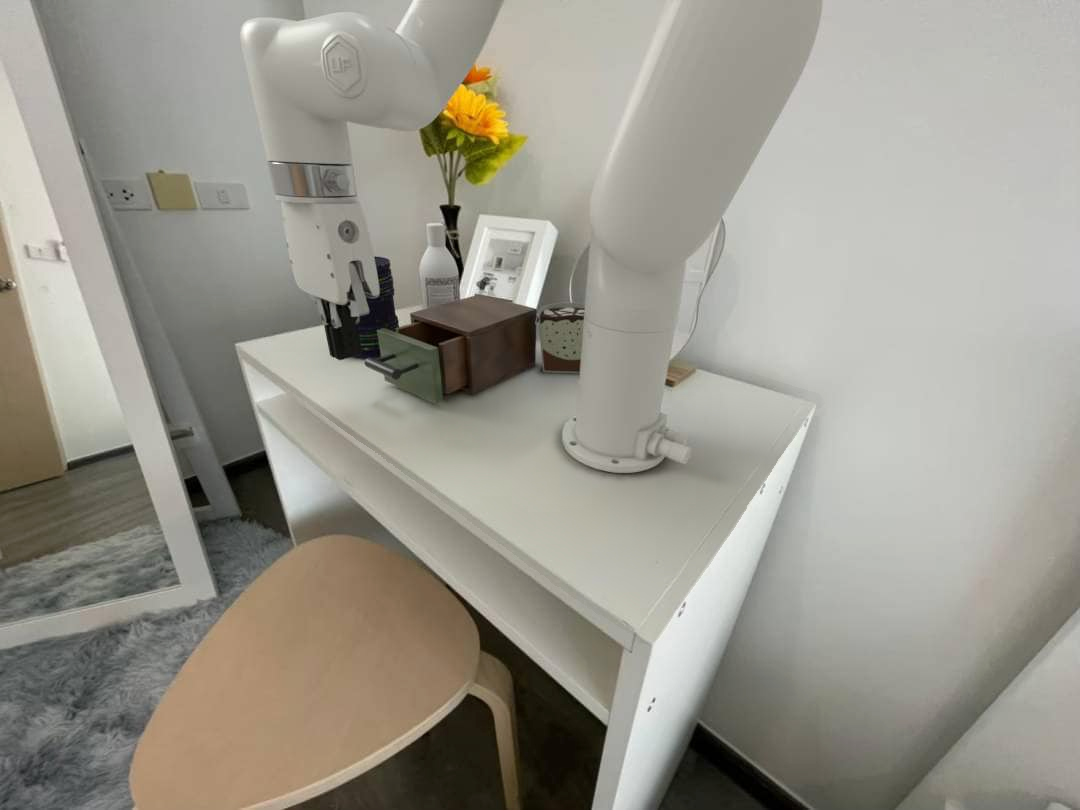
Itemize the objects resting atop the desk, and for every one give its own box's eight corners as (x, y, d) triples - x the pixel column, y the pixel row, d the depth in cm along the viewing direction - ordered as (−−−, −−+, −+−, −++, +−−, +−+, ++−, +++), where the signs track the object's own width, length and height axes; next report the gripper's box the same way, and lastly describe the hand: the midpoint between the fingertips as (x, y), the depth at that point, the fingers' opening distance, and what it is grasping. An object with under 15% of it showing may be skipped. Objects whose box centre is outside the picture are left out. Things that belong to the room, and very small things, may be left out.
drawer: (410, 416, 55) (402, 360, 52) (359, 390, 61) (348, 337, 58) (503, 372, 68) (503, 324, 64) (453, 354, 74) (449, 309, 70)
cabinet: (473, 395, 63) (469, 332, 58) (416, 371, 69) (409, 312, 65) (535, 364, 73) (536, 308, 68) (481, 346, 80) (479, 294, 75)
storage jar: (330, 355, 74) (310, 265, 67) (363, 336, 83) (349, 254, 75) (384, 362, 72) (369, 270, 65) (412, 341, 81) (401, 258, 74)
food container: (606, 359, 76) (612, 302, 71) (610, 374, 70) (616, 314, 66) (535, 357, 76) (536, 300, 71) (533, 371, 71) (535, 311, 66)
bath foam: (469, 336, 84) (463, 225, 75) (436, 343, 80) (425, 227, 71) (451, 326, 89) (443, 220, 79) (419, 333, 85) (407, 222, 75)
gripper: (393, 189, 42) (412, 363, 51) (313, 180, 50) (341, 332, 59) (318, 190, 37) (353, 384, 46) (241, 179, 45) (284, 347, 54)
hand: (346, 355), depth 52 cm, fingers closed
